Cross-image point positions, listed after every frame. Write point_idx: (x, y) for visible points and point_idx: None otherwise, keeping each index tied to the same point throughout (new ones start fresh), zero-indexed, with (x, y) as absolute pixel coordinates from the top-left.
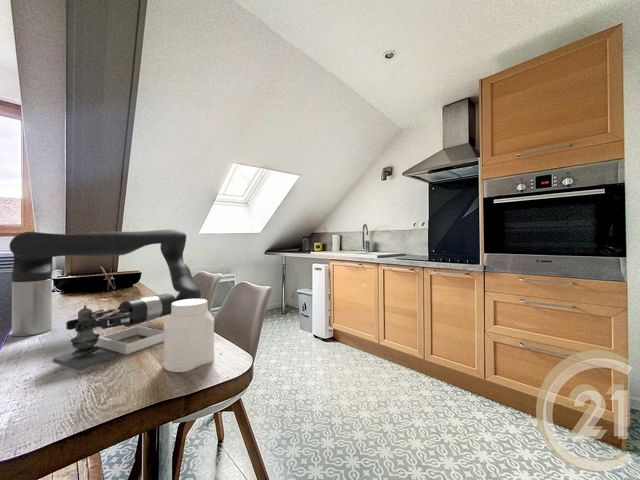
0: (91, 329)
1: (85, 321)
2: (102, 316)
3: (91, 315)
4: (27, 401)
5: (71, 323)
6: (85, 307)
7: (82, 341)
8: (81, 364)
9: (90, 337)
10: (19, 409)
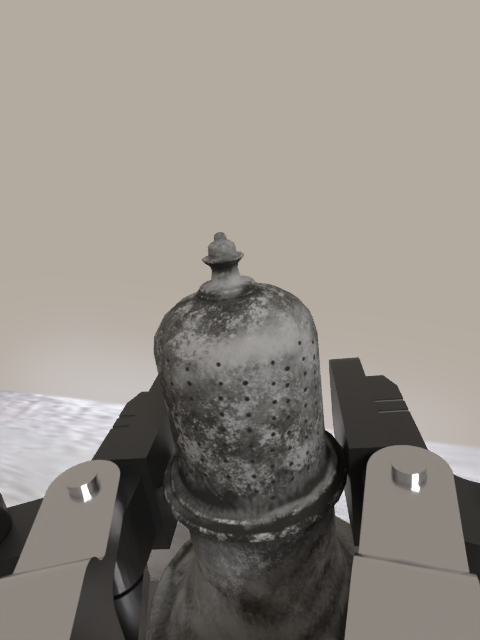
0: (196, 560)
1: (153, 405)
2: (93, 559)
3: (172, 413)
4: (92, 427)
5: (332, 392)
6: (215, 269)
7: (191, 540)
8: (149, 605)
9: (180, 592)
10: (74, 413)
